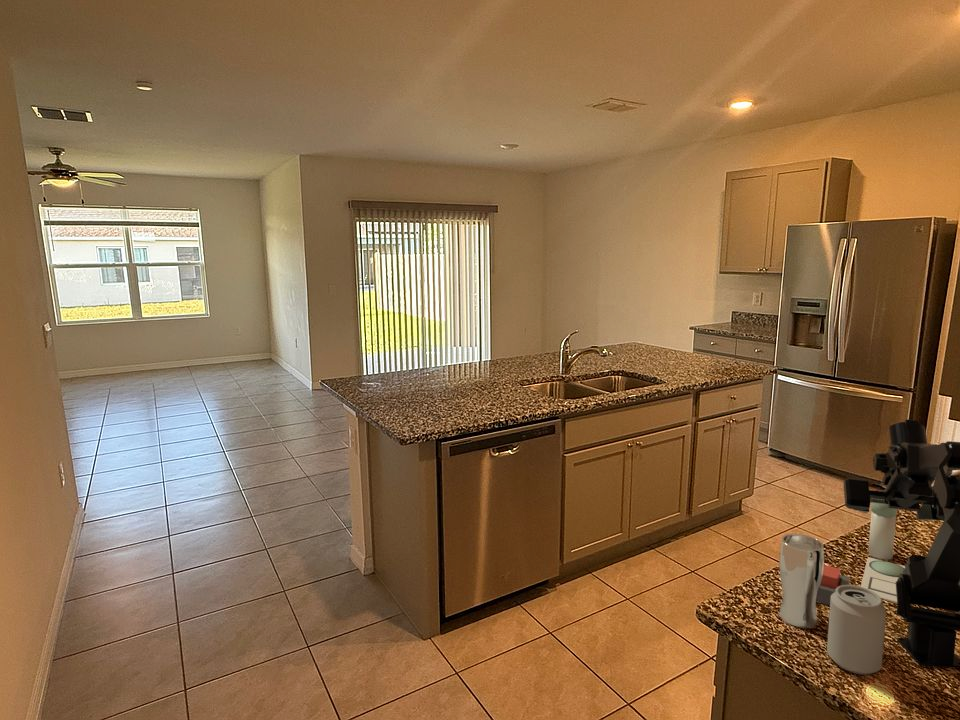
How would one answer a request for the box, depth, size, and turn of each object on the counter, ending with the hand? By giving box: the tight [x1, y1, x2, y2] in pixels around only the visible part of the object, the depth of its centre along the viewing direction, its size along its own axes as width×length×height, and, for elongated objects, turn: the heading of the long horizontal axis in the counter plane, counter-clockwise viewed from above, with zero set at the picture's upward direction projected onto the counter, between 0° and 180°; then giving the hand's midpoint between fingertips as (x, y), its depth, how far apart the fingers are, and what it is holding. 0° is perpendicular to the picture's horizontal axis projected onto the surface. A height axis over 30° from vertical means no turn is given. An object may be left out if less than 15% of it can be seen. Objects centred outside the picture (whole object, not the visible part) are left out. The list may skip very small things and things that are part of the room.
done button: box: [821, 564, 841, 589], centre depth 111 cm, size 4×4×3 cm
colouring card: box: [860, 556, 905, 604], centre depth 115 cm, size 17×8×1 cm, turn 141°
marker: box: [867, 498, 898, 561], centre depth 124 cm, size 5×5×13 cm
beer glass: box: [778, 533, 825, 629], centre depth 103 cm, size 7×7×15 cm
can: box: [826, 584, 887, 675], centre depth 91 cm, size 8×8×12 cm
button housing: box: [816, 574, 851, 607], centre depth 111 cm, size 8×8×3 cm
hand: (890, 514), depth 118 cm, fingers open, 9 cm apart
